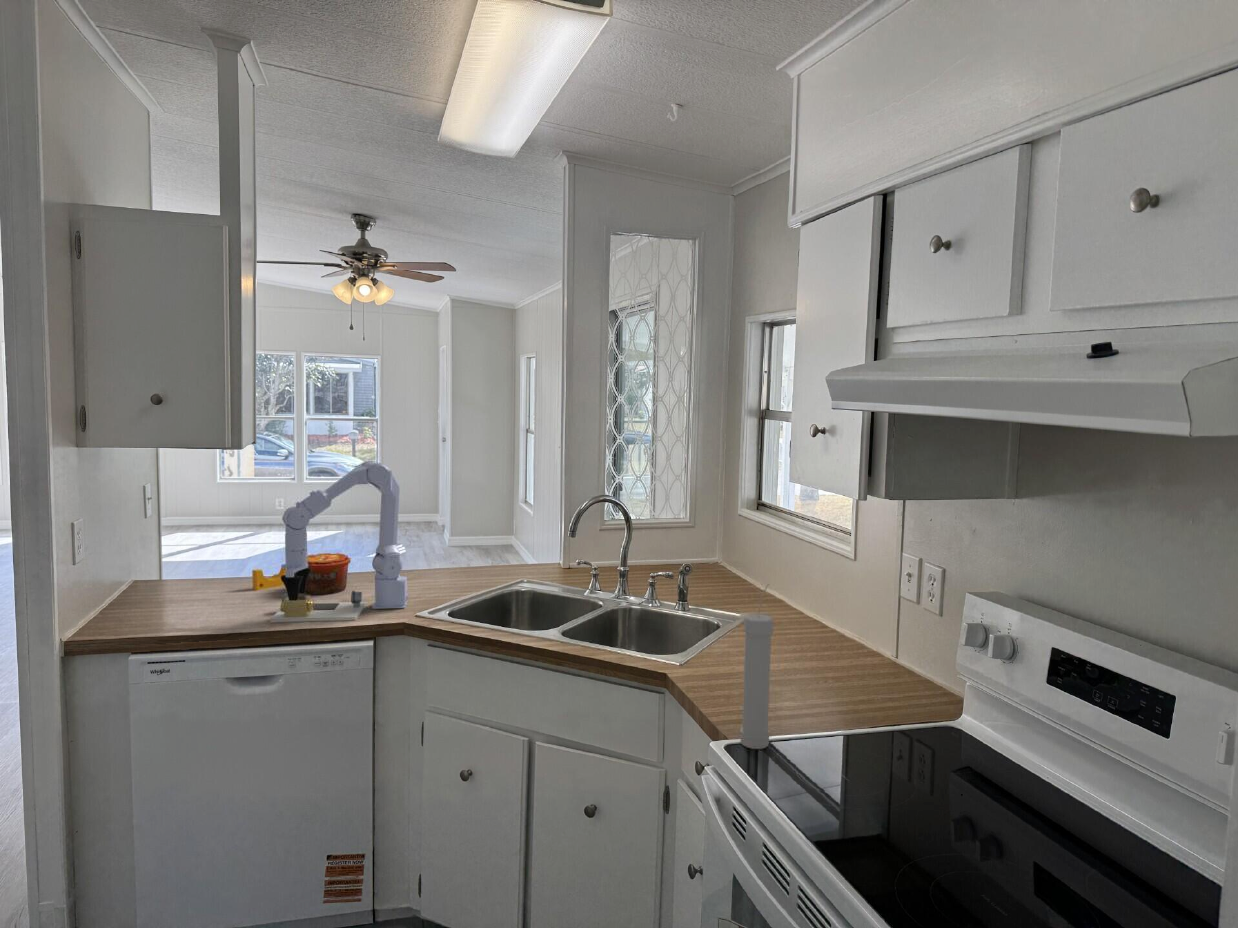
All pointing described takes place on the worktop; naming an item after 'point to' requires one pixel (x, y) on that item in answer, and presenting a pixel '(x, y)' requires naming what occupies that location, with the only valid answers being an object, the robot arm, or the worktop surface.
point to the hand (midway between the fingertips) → (297, 596)
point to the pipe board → (328, 611)
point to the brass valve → (297, 607)
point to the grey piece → (756, 680)
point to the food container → (327, 573)
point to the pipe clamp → (266, 579)
